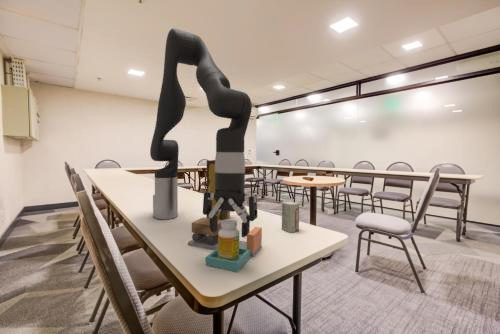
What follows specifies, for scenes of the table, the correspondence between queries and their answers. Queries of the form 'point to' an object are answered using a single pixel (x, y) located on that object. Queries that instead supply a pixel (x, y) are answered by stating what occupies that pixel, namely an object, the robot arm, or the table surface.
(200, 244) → the rail
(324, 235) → the table surface
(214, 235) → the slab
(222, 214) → the book
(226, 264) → the cradle
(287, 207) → the skincare box
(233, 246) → the supplement bottle
